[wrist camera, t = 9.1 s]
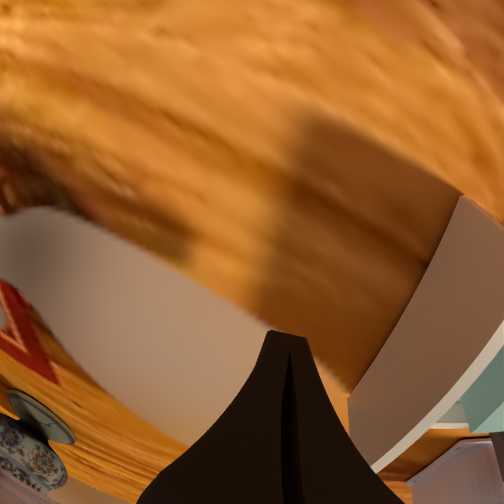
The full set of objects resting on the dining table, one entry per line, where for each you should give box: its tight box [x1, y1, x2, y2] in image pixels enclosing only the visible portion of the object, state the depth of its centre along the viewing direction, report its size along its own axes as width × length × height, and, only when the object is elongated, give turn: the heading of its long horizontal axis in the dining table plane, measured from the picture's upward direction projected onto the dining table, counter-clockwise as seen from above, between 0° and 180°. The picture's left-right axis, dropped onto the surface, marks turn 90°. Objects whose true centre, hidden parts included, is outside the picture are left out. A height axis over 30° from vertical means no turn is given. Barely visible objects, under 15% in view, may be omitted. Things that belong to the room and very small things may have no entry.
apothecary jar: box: [0, 389, 76, 496], centre depth 20 cm, size 12×12×18 cm
